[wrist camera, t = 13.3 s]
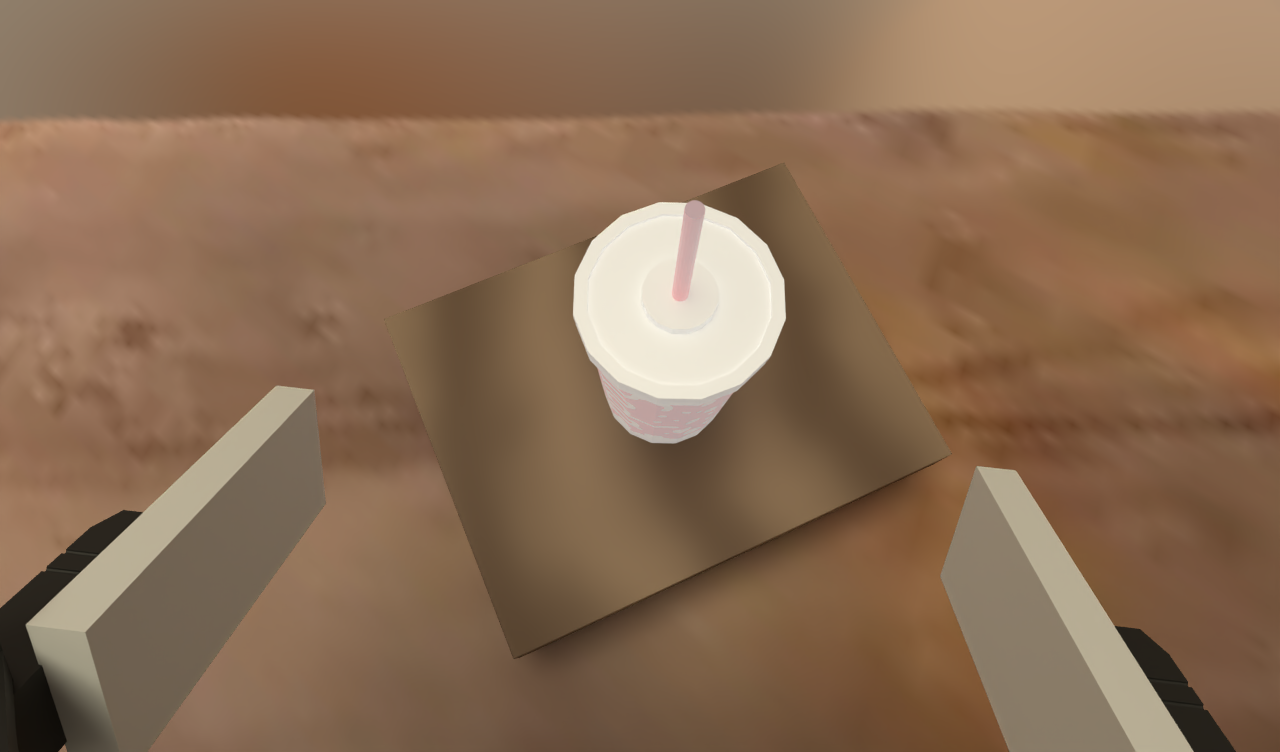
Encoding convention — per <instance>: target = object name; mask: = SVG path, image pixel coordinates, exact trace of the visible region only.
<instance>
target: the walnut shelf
mask: <svg viewBox="0 0 1280 752" xmlns="http://www.w3.org/2000/svg"><path fill="white" fill-rule="evenodd" d="M692 200H697V201H700V202H701V203H702V204H704V205H705V206H708V207H711V208H713V209H716V210H718V211H721V212H723V213H726V214H728V215H731V216H733V217H736V218H738V219H739V220H740V221H741V222H742V223H743V224H745V225H746V226H747V227H748V228H749V229H750V230H751V231H752V232H753V233H755V234H756V235H757V236H758V237H759V238H760V239H761V240H762V241H763V242H765V243H766V244H767V246H768V248H769V250H770V252H771V254H772V256H773V258H774V260H775V262H776V264H777V266H778V268H779V270H780V272H781V275H782V277H783V279H784V288H785V312H786V320H785V322H784V325H783V327H782V329H781V332H780V334H779V337H778V339H777V342H776V344H775V347H774V349H773V352H772V354H771V356H770V358H769V359H768V360H767V361H766V363H765V365H764V366H762V367H761V368H760V369H759V370H758V371H757V372H756V373H755V374H754V375H753V376H752V377H751V378H750V379H749V380H748V381H747V382H746V383H745V384H744V385H743V386H742V387H741V388H740V389H739V390H738V391H736V392H733V394H732V395H731V396H730V398H729V399H728V400H727V402H726V403H725V404H724V406H723V407H722V408H721V410H720V411H719V412H718V414H717V415H716V416H715V418H714V419H713V420H712V421H711V422H710V423H709V424H708V425H707V426H706V427H705V428H704V429H703V430H702V431H701V432H700V433H699V434H698V435H696V436H693V437H691V438H688V439H685V440H683V441H680V442H678V443H651V442H648V441H646V440H644V439H641V438H639V437H637V436H634V435H632V434H630V433H629V432H628V431H627V430H626V429H625V428H624V427H623V426H622V425H621V424H620V423H619V422H618V421H617V420H616V419H615V418H614V416H613V413H612V411H611V408H610V406H609V403H608V401H607V398H606V395H605V392H604V389H603V385H602V382H601V379H600V375H599V372H598V369H597V367H596V366H595V365H594V364H593V363H592V362H591V361H590V359H589V357H588V354H587V352H586V349H585V347H584V344H583V342H582V339H581V337H580V334H579V332H578V329H577V327H576V323H575V320H574V317H573V302H574V279H575V274H576V272H577V270H578V268H579V266H580V264H581V262H582V260H583V258H584V256H585V254H586V252H587V250H588V248H589V246H590V244H591V242H592V240H593V239H595V238H596V237H597V236H595V237H593V238H590V239H588V240H585V241H583V242H580V243H577V244H575V245H572V246H570V247H567V248H565V249H562V250H560V251H557V252H555V253H552V254H549V255H547V256H544V257H542V258H539V259H537V260H534V261H532V262H529V263H526V264H524V265H521V266H519V267H516V268H514V269H511V270H509V271H506V272H503V273H501V274H498V275H496V276H493V277H491V278H488V279H486V280H483V281H480V282H478V283H475V284H473V285H470V286H468V287H465V288H463V289H460V290H458V291H455V292H452V293H450V294H447V295H445V296H442V297H440V298H437V299H435V300H432V301H429V302H427V303H424V304H422V305H419V306H417V307H414V308H412V309H409V310H406V311H404V312H401V313H399V314H396V315H394V316H391V317H389V318H386V319H384V321H385V324H386V326H387V329H388V331H389V334H390V337H391V339H392V342H393V345H394V347H395V350H396V352H397V355H398V358H399V360H400V363H401V365H402V368H403V371H404V373H405V376H406V379H407V381H408V384H409V386H410V389H411V392H412V394H413V397H414V400H415V402H416V405H417V407H418V410H419V413H420V415H421V418H422V420H423V423H424V426H425V428H426V431H427V434H428V436H429V439H430V441H431V444H432V447H433V449H434V452H435V454H436V457H437V460H438V462H439V465H440V468H441V470H442V473H443V475H444V478H445V481H446V483H447V486H448V488H449V491H450V494H451V496H452V499H453V502H454V504H455V507H456V509H457V512H458V515H459V517H460V520H461V522H462V525H463V528H464V530H465V533H466V536H467V538H468V541H469V543H470V546H471V549H472V551H473V554H474V557H475V559H476V562H477V564H478V567H479V570H480V572H481V575H482V577H483V580H484V583H485V585H486V588H487V591H488V593H489V596H490V598H491V601H492V604H493V606H494V609H495V611H496V614H497V617H498V619H499V622H500V625H501V627H502V630H503V632H504V635H505V638H506V640H507V643H508V645H509V648H510V651H511V653H512V656H513V659H515V658H520V657H522V656H524V655H527V654H529V653H531V652H533V651H535V650H537V649H539V648H542V647H544V646H546V645H548V644H550V643H552V642H554V641H557V640H559V639H561V638H563V637H565V636H567V635H569V634H572V633H574V632H576V631H578V630H580V629H582V628H584V627H586V626H589V625H591V624H593V623H595V622H597V621H599V620H601V619H604V618H606V617H608V616H610V615H612V614H614V613H616V612H619V611H621V610H623V609H625V608H627V607H629V606H631V605H634V604H636V603H638V602H640V601H642V600H644V599H646V598H648V597H651V596H653V595H655V594H657V593H659V592H661V591H663V590H666V589H668V588H670V587H672V586H674V585H676V584H678V583H681V582H683V581H685V580H687V579H689V578H691V577H693V576H696V575H698V574H700V573H702V572H704V571H706V570H708V569H711V568H713V567H715V566H717V565H719V564H721V563H723V562H725V561H728V560H730V559H732V558H734V557H736V556H738V555H740V554H743V553H745V552H747V551H749V550H751V549H753V548H755V547H758V546H760V545H762V544H764V543H766V542H768V541H770V540H773V539H775V538H777V537H779V536H781V535H783V534H785V533H787V532H790V531H792V530H794V529H796V528H798V527H800V526H802V525H805V524H807V523H809V522H811V521H813V520H815V519H817V518H820V517H822V516H824V515H826V514H828V513H830V512H832V511H835V510H837V509H839V508H841V507H843V506H845V505H847V504H850V503H852V502H854V501H856V500H858V499H860V498H862V497H864V496H867V495H869V494H871V493H873V492H875V491H877V490H879V489H882V488H884V487H886V486H888V485H890V484H892V483H894V482H897V481H899V480H901V479H903V478H905V477H907V476H909V475H912V474H914V473H916V472H918V471H920V470H922V469H924V468H926V467H929V466H931V465H933V464H935V463H937V462H938V461H940V460H942V459H944V458H946V457H947V456H949V455H951V454H952V453H951V451H950V450H949V448H948V446H947V444H946V443H945V441H944V439H943V437H942V436H941V434H940V432H939V430H938V429H937V427H936V425H935V424H934V422H933V420H932V418H931V417H930V415H929V413H928V411H927V410H926V408H925V406H924V404H923V403H922V401H921V399H920V398H919V396H918V394H917V392H916V391H915V389H914V387H913V385H912V384H911V382H910V380H909V378H908V377H907V375H906V373H905V371H904V370H903V368H902V366H901V365H900V363H899V361H898V359H897V358H896V356H895V354H894V352H893V351H892V349H891V347H890V345H889V344H888V342H887V340H886V339H885V337H884V335H883V333H882V332H881V330H880V328H879V326H878V325H877V323H876V321H875V319H874V318H873V316H872V314H871V313H870V311H869V309H868V307H867V306H866V304H865V302H864V300H863V299H862V297H861V295H860V293H859V292H858V290H857V288H856V286H855V285H854V283H853V281H852V280H851V278H850V276H849V274H848V273H847V271H846V269H845V267H844V266H843V264H842V262H841V260H840V259H839V257H838V255H837V254H836V252H835V250H834V248H833V247H832V245H831V243H830V241H829V240H828V238H827V236H826V234H825V233H824V231H823V229H822V227H821V226H820V224H819V222H818V221H817V219H816V217H815V215H814V214H813V212H812V210H811V208H810V207H809V205H808V203H807V201H806V200H805V198H804V196H803V195H802V193H801V191H800V189H799V188H798V186H797V184H796V182H795V181H794V179H793V177H792V175H791V174H790V172H789V170H788V169H787V167H786V165H785V163H782V164H779V165H777V166H774V167H771V168H769V169H766V170H764V171H761V172H759V173H756V174H754V175H751V176H749V177H746V178H743V179H741V180H738V181H736V182H733V183H731V184H728V185H726V186H723V187H720V188H718V189H715V190H713V191H710V192H708V193H705V194H703V195H700V196H697V197H695V198H692V199H690V200H687V201H685V202H682V203H688V202H690V201H692Z"/></svg>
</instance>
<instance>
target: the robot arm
mask: <svg viewBox="0 0 1280 752" xmlns="http://www.w3.org/2000/svg"><path fill="white" fill-rule="evenodd" d="M325 504H326V501H325V492H324V482H323V472H322V462H321V452H320V442H319V432H318V423H317V413H316V403H315V393H314V390H310V389H301V388H292V387H284V386H275V387H274V388H273V389H272V390H271V391H270V392H269V393H268V394H267V395H266V396H265V397H264V398H263V399H262V400H261V401H260V402H259V403H258V404H257V405H256V406H254V407H253V408H252V409H251V410H250V411H249V412H248V413H247V414H246V415H245V416H244V417H243V418H242V419H241V420H240V421H239V422H238V423H237V424H236V425H235V426H233V427H232V428H231V429H230V430H229V431H228V432H227V433H226V434H225V435H224V436H223V437H222V438H221V439H220V440H219V441H218V442H217V443H216V444H215V445H214V446H213V447H211V448H210V449H209V450H208V451H207V452H206V453H205V454H204V455H203V456H202V457H201V458H200V459H199V460H198V461H197V462H196V463H195V464H194V465H193V466H192V467H190V468H189V469H188V470H187V471H186V472H185V473H184V474H183V475H182V476H181V477H180V478H179V479H178V480H177V481H176V482H175V483H174V484H173V485H172V486H171V487H170V488H168V489H167V490H166V491H165V492H164V493H163V494H162V495H161V496H160V497H159V498H158V499H157V500H156V501H155V502H154V503H153V504H152V505H151V506H150V507H149V508H147V509H146V510H145V511H144V512H135V511H127V510H123V511H121V512H119V513H117V514H115V515H113V516H111V517H110V518H108V519H106V520H104V521H102V522H100V523H98V524H96V525H94V526H92V527H91V528H89V529H88V530H87V531H86V532H85V533H84V534H83V535H82V536H80V537H79V538H78V539H77V540H76V541H75V542H74V543H73V544H72V545H70V546H69V547H68V548H67V549H66V553H65V554H62V553H61V554H60V555H59V556H58V557H57V558H56V559H55V560H54V561H53V562H51V563H50V564H49V565H48V566H47V569H46V571H45V572H43V571H41V572H40V573H39V574H38V575H37V576H36V577H35V578H34V579H32V580H31V581H30V582H29V583H28V584H27V585H26V586H25V587H24V588H22V589H21V590H20V591H19V592H18V593H17V594H16V595H15V596H13V597H12V598H11V599H10V600H9V601H8V602H7V603H6V604H5V605H3V606H2V607H1V608H0V752H58V751H59V750H60V749H61V748H62V747H63V745H64V744H65V746H66V749H67V752H147V751H148V750H149V749H150V747H151V746H152V744H153V743H154V742H155V740H156V739H157V738H158V736H159V735H160V733H161V732H162V731H163V729H164V728H165V726H166V725H167V724H168V722H169V721H170V719H171V718H172V717H173V715H174V714H175V713H176V711H177V710H178V708H179V707H180V706H181V704H182V703H183V701H184V700H185V699H186V697H187V696H188V694H189V693H190V692H191V690H192V689H193V687H194V686H195V685H196V683H197V682H198V681H199V679H200V678H201V676H202V675H203V674H204V672H205V671H206V669H207V668H208V667H209V665H210V664H211V662H212V661H213V660H214V658H215V657H216V656H217V654H218V653H219V651H220V650H221V649H222V647H223V646H224V644H225V643H226V642H227V640H228V639H229V637H230V636H231V635H232V633H233V632H234V631H235V629H236V628H237V626H238V625H239V624H240V622H241V621H242V619H243V618H244V617H245V615H246V614H247V612H248V611H249V610H250V608H251V607H252V605H253V604H254V603H255V601H256V600H257V599H258V597H259V596H260V594H261V593H262V592H263V590H264V589H265V587H266V586H267V585H268V583H269V582H270V580H271V579H272V578H273V576H274V575H275V574H276V572H277V571H278V569H279V568H280V567H281V565H282V564H283V562H284V561H285V560H286V558H287V557H288V555H289V554H290V553H291V551H292V550H293V549H294V547H295V546H296V544H297V543H298V542H299V540H300V539H301V537H302V536H303V535H304V533H305V532H306V530H307V529H308V528H309V526H310V525H311V523H312V522H313V521H314V519H315V518H316V517H317V515H318V514H319V512H320V511H321V510H322V508H323V507H324V505H325ZM940 577H941V580H942V582H943V585H944V587H945V590H946V592H947V595H948V597H949V600H950V602H951V605H952V607H953V610H954V612H955V615H956V618H957V620H958V623H959V625H960V628H961V630H962V633H963V635H964V638H965V640H966V643H967V645H968V648H969V651H970V653H971V656H972V658H973V661H974V663H975V666H976V668H977V671H978V673H979V676H980V678H981V681H982V683H983V686H984V689H985V691H986V694H987V696H988V699H989V701H990V704H991V706H992V709H993V711H994V714H995V716H996V719H997V721H998V724H999V727H1000V729H1001V732H1002V734H1003V737H1004V739H1005V742H1006V744H1007V747H1008V749H1009V752H1236V751H1235V750H1234V748H1233V747H1232V745H1231V744H1230V742H1229V741H1228V740H1227V738H1226V737H1225V735H1224V734H1223V732H1222V731H1221V729H1220V728H1219V726H1218V725H1217V724H1216V722H1215V721H1214V719H1213V718H1212V716H1211V715H1210V713H1209V712H1208V710H1204V709H1203V703H1202V702H1201V700H1200V699H1199V697H1198V696H1197V694H1196V693H1195V692H1194V690H1193V689H1192V687H1188V681H1187V680H1186V678H1185V677H1184V675H1183V674H1182V673H1181V671H1180V670H1179V668H1178V667H1177V665H1176V664H1175V662H1174V661H1173V659H1172V658H1171V657H1170V655H1169V654H1168V653H1167V652H1166V651H1164V650H1163V649H1162V648H1161V647H1160V646H1159V645H1158V644H1156V643H1155V642H1154V641H1153V640H1152V639H1151V638H1149V637H1148V636H1147V635H1146V634H1145V633H1144V632H1143V631H1141V630H1140V629H1135V628H1126V627H1118V626H1114V625H1113V623H1112V622H1111V620H1110V618H1109V617H1108V615H1107V614H1106V612H1105V611H1104V609H1103V607H1102V606H1101V604H1100V603H1099V601H1098V600H1097V598H1096V596H1095V595H1094V593H1093V592H1092V590H1091V588H1090V587H1089V585H1088V584H1087V582H1086V581H1085V579H1084V577H1083V576H1082V574H1081V573H1080V571H1079V570H1078V568H1077V566H1076V565H1075V563H1074V562H1073V560H1072V558H1071V557H1070V555H1069V554H1068V552H1067V551H1066V549H1065V547H1064V546H1063V544H1062V543H1061V541H1060V539H1059V538H1058V536H1057V535H1056V533H1055V532H1054V530H1053V528H1052V527H1051V525H1050V524H1049V522H1048V521H1047V519H1046V517H1045V516H1044V514H1043V513H1042V511H1041V509H1040V508H1039V506H1038V505H1037V503H1036V502H1035V500H1034V498H1033V497H1032V495H1031V494H1030V492H1029V490H1028V489H1027V487H1026V486H1025V484H1024V483H1023V481H1022V479H1021V478H1020V476H1019V475H1018V473H1017V472H1016V471H1015V470H1006V469H997V468H989V467H980V466H976V469H975V472H974V475H973V478H972V481H971V484H970V487H969V490H968V493H967V496H966V499H965V503H964V506H963V509H962V512H961V515H960V518H959V521H958V524H957V527H956V530H955V533H954V536H953V539H952V542H951V545H950V548H949V551H948V554H947V557H946V560H945V563H944V566H943V569H942V572H941V575H940Z"/></svg>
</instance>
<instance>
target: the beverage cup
mask: <svg viewBox="0 0 1280 752" xmlns="http://www.w3.org/2000/svg"><path fill="white" fill-rule="evenodd" d="M573 317H574V320H575V323H576V327H577V329H578V332H579V334H580V337H581V339H582V342H583V344H584V347H585V349H586V352H587V354H588V357H589V359H590V361H591V362H592V363H593V364H594V365H595V366H596V367H597V369H598V372H599V375H600V379H601V382H602V385H603V389H604V392H605V395H606V398H607V401H608V403H609V406H610V408H611V411H612V413H613V416H614V418H615V419H616V420H617V421H618V422H619V423H620V424H621V425H622V426H623V427H624V428H625V429H626V430H627V431H628V432H629V433H630V434H632V435H634V436H637V437H639V438H641V439H644V440H646V441H648V442H651V443H678V442H680V441H683V440H685V439H688V438H691V437H693V436H696V435H698V434H699V433H700V432H701V431H702V430H703V429H704V428H705V427H706V426H707V425H708V424H709V423H710V422H711V421H712V420H713V419H714V418H715V416H716V415H717V414H718V412H719V411H720V410H721V408H722V407H723V406H724V404H725V403H726V402H727V400H728V399H729V398H730V396H731V395H732V394H733V392H736V391H738V390H739V389H740V388H741V387H742V386H743V385H744V384H745V383H746V382H747V381H748V380H749V379H750V378H751V377H752V376H753V375H754V374H755V373H756V372H757V371H758V370H759V369H760V368H761V367H762V366H764V365H765V363H766V361H767V360H768V359H769V358H770V356H771V354H772V352H773V349H774V347H775V344H776V342H777V339H778V337H779V334H780V332H781V329H782V327H783V325H784V322H785V320H786V312H785V288H784V279H783V277H782V275H781V272H780V270H779V268H778V266H777V264H776V262H775V260H774V258H773V256H772V254H771V252H770V250H769V248H768V246H767V244H766V243H765V242H763V241H762V240H761V239H760V238H759V237H758V236H757V235H756V234H755V233H753V232H752V231H751V230H750V229H749V228H748V227H747V226H746V225H745V224H743V223H742V222H741V221H740V220H739V219H738V218H736V217H733V216H731V215H728V214H726V213H723V212H721V211H718V210H716V209H713V208H711V207H708V206H705V205H704V204H702V203H701V202H700V201H697V200H692V201H690V202H688V203H667V202H659V203H656V204H653V205H650V206H647V207H644V208H641V209H639V210H636V211H633V212H630V213H627V214H624V215H621V216H620V217H619V218H618V219H617V220H616V221H614V222H613V223H612V224H611V225H610V226H609V227H607V228H606V229H605V230H604V231H603V232H602V233H600V234H599V235H598V236H597V237H596V238H595V239H593V240H592V242H591V244H590V246H589V248H588V250H587V252H586V254H585V256H584V258H583V260H582V262H581V264H580V266H579V268H578V270H577V272H576V274H575V279H574V302H573Z"/></svg>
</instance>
